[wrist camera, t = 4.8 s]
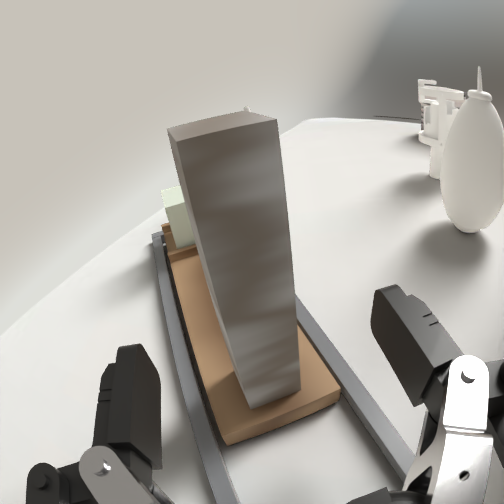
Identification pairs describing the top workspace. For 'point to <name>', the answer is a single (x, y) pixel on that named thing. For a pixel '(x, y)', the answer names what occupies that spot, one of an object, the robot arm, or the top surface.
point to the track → (330, 356)
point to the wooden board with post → (242, 278)
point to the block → (178, 216)
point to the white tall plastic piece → (437, 120)
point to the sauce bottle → (474, 164)
